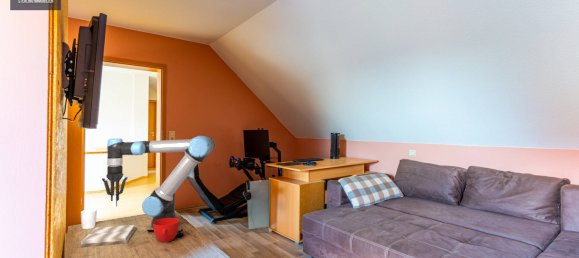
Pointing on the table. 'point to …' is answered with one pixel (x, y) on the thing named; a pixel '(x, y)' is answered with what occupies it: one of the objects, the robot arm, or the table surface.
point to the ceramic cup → (166, 229)
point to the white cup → (88, 218)
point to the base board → (106, 238)
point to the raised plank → (113, 229)
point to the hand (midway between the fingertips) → (115, 206)
